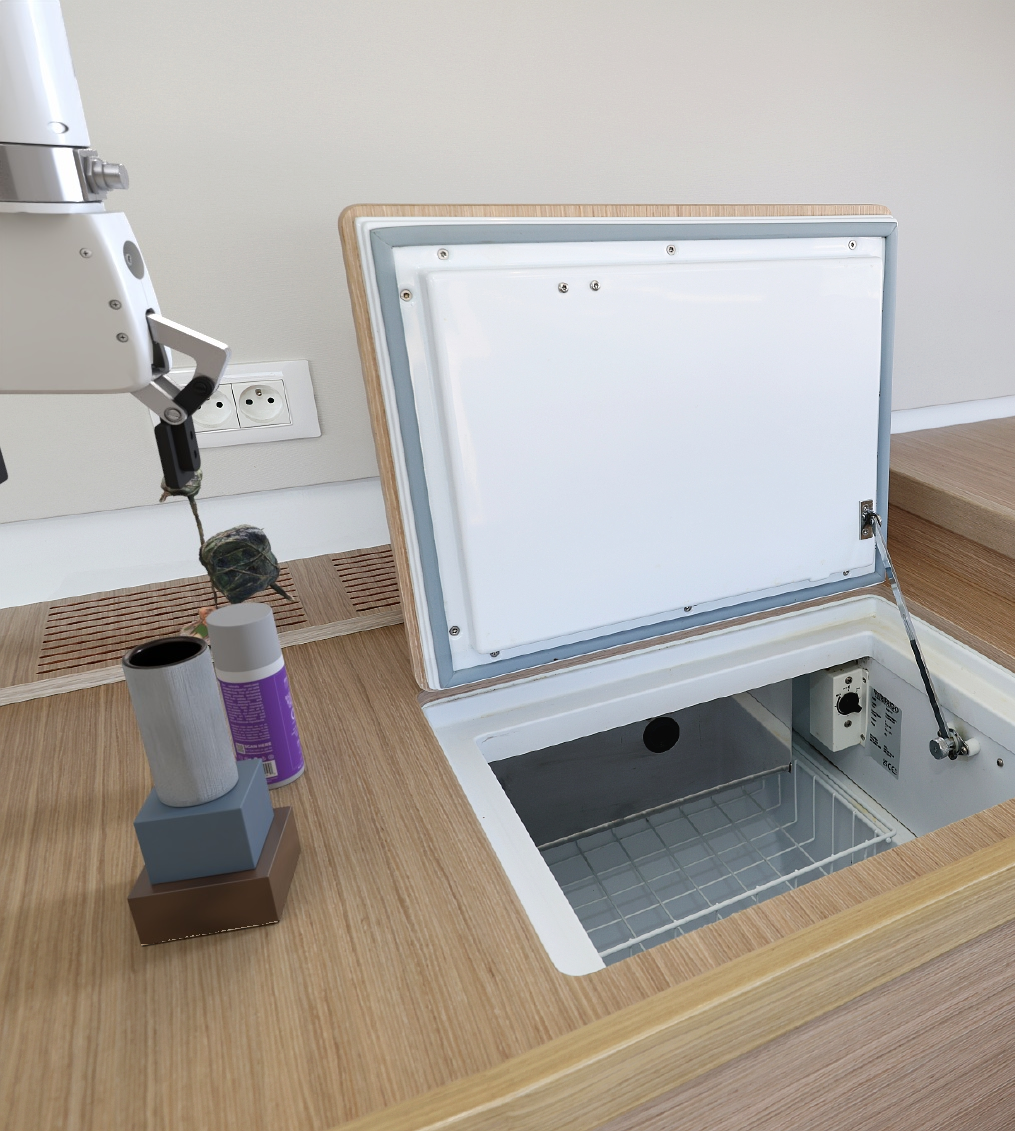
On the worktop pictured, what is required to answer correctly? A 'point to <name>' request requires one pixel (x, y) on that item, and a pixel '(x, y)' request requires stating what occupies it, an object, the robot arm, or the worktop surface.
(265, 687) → the container
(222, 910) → the base block
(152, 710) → the planter
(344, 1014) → the worktop surface
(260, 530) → the plant with pod
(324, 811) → the worktop surface
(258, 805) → the top block
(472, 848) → the worktop surface
